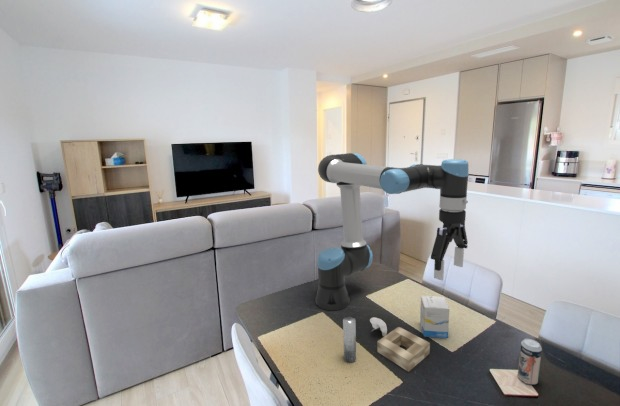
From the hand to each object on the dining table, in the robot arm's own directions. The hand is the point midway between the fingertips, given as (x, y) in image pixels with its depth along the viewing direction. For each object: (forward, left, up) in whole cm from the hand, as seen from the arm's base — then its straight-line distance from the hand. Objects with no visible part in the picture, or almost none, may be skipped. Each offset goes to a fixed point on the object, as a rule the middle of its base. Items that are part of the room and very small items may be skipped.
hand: (448, 272), depth 98 cm
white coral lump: (-19, -12, -27) cm, 35 cm away
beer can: (+23, +2, -27) cm, 35 cm away
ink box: (-6, +4, -27) cm, 28 cm away
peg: (-17, -30, -26) cm, 43 cm away
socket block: (-7, -15, -26) cm, 31 cm away
